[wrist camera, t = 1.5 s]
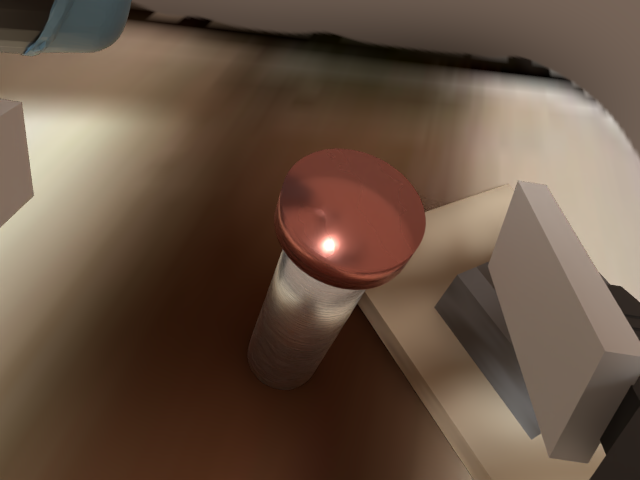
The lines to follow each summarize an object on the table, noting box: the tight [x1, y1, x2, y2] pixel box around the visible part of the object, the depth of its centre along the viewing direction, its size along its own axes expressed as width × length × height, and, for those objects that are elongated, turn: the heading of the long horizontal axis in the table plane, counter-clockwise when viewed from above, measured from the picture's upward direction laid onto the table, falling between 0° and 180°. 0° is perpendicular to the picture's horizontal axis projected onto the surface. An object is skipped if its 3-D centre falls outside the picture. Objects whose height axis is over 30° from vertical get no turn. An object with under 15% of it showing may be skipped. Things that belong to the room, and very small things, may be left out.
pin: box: [247, 149, 426, 390], centre depth 28 cm, size 6×6×14 cm
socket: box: [357, 184, 610, 480], centre depth 35 cm, size 22×16×5 cm
